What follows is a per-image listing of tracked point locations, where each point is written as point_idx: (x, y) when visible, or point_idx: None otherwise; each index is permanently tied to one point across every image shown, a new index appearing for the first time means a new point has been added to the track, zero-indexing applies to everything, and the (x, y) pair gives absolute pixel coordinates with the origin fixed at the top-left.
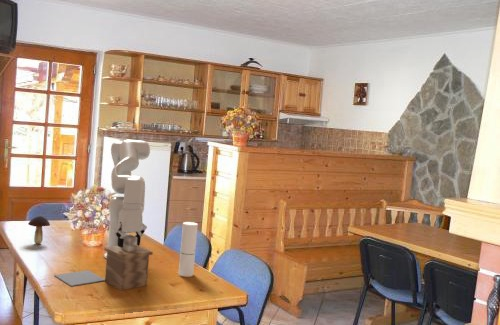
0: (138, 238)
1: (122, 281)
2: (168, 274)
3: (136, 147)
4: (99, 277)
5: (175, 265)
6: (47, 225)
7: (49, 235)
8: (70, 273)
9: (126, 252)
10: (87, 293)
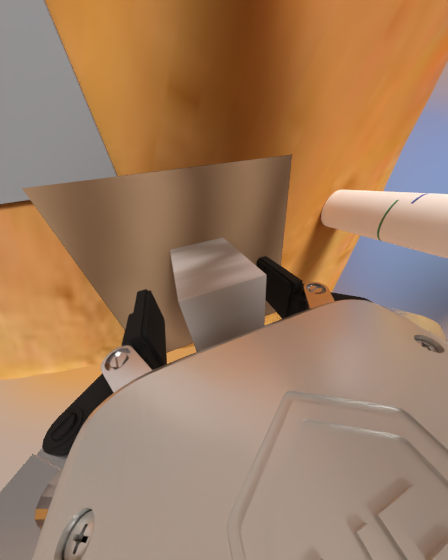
0: (278, 312)
1: None
2: (309, 194)
3: None
4: (96, 145)
5: (381, 111)
6: None
7: None
8: None
9: (177, 320)
10: (52, 284)
